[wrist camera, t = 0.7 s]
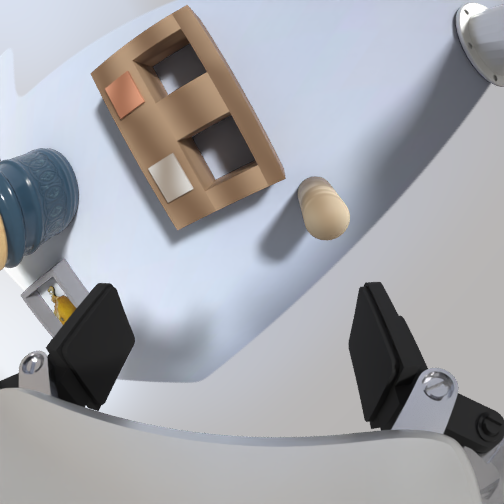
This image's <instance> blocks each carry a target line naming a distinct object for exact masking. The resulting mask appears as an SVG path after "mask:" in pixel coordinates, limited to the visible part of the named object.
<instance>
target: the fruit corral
mask: <svg viewBox="0 0 504 504" xmlns="http://www.w3.org/2000/svg"><path fill="white" fill-rule="evenodd" d="M52 277H54V279H55V280H56V282H57V283H58V284H59V286H60V287H61V289H62V290H63V291H64V293H65V294H66V295H67V297H68V298H69V299H70V301H71V302H72V303H73V305H74V306H75V307H76V308H77V307H78V306H79V305H80V304H81V302H82V301H83V300H84V299H85V298H86V296H87V295H88V294H89V292H88V291H87V290H86V288H85V287H84V286H83V284H82V283H81V282H80V280H79V279H78V277H77V276H76V275H75V273H74V272H73V270H72V269H71V267H70V266H69V264H68V263H67V261H66V260H65V258H64V259H63V260H62V261H60V262H59V263H58V264H56V265H55V266H54V267H53V268H51V269H50V270H49V271H48V272H46V273H45V274H44V275H43V276H41V277H40V278H39V279H38V280H37V281H35V282H34V283H33V284H32V285H31V286H30V287H29V288H27V289H26V290H25V291H24V292H23V293H22V294H21V297H22V298H23V300H24V301H25V303H27V305H28V307H29V308H30V309H31V310H32V312H33V313H34V315H35V316H36V317H37V319H38V320H39V321H40V322H41V323H42V325H43V326H44V327H45V329H46V330H47V331H48V332H49V333H50V335H51V336H52V337H54V336H55V335H56V334H57V332H58V331H59V330H60V328H61V327H62V326H63V324H62V323H61V322H60V321H59V319H58V318H57V317H56V316H55V314H54V313H53V312H52V311H51V309H50V308H49V307H48V305H47V304H46V303H45V301H44V300H43V299H42V297H41V296H40V294H39V293H38V292H37V290H36V289H37V288H39V287H40V286H41V285H42V284H44V283H45V282H46V281H48V280H49V279H50V278H52Z"/></svg>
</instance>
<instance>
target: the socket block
mask: <svg viewBox="0 0 504 504" xmlns="http://www.w3.org/2000/svg"><path fill="white" fill-rule="evenodd" d="M188 44H191V46H192V47H193V49H194V51H195V52H196V54H197V56H198V57H199V59H200V61H201V62H202V64H203V66H204V68H205V69H206V71H207V72H206V73H204V74H203V75H201V76H199V77H197V78H196V79H194V80H192V81H190V82H189V83H187V84H185V85H184V86H182V87H180V88H179V89H177V90H176V91H174V92H172V93H171V94H169V95H168V94H167V92H166V90H165V88H164V86H163V85H162V83H161V81H160V79H159V77H158V76H157V74H156V72H155V70H154V69H153V66H155V65H156V64H157V63H159V62H161V61H162V60H164V59H165V58H167V57H168V56H170V55H171V54H173V53H175V52H176V51H178V50H180V49H181V48H183V47H185V46H186V45H188ZM91 76H92V78H93V80H94V82H95V84H96V86H97V88H98V90H99V92H100V94H101V96H102V98H103V100H104V102H105V104H106V106H107V107H108V109H109V111H110V113H111V115H112V117H113V119H114V121H115V123H116V125H117V126H118V128H119V130H120V132H121V134H122V136H123V138H124V139H125V141H126V143H127V145H128V147H129V149H130V150H131V152H132V154H133V156H134V158H135V159H136V161H137V163H138V165H139V166H140V168H141V170H142V172H143V173H144V175H145V177H146V179H147V180H148V182H149V184H150V186H151V187H152V189H153V191H154V192H155V194H156V196H157V197H158V199H159V201H160V202H161V204H162V206H163V207H164V209H165V211H166V212H167V214H168V216H169V217H170V219H171V221H172V222H173V224H174V226H175V227H176V229H177V230H179V229H181V228H183V227H185V226H187V225H189V224H191V223H193V222H195V221H197V220H199V219H201V218H203V217H205V216H207V215H209V214H211V213H213V212H215V211H217V210H219V209H221V208H223V207H226V206H228V205H230V204H232V203H234V202H236V201H238V200H240V199H242V198H244V197H247V196H249V195H251V194H253V193H255V192H257V191H259V190H262V189H264V188H266V187H268V186H270V185H273V184H275V183H277V182H279V181H282V180H284V179H286V178H285V172H284V168H283V166H282V164H281V162H280V160H279V158H278V156H277V154H276V152H275V150H274V148H273V146H272V144H271V142H270V140H269V138H268V136H267V134H266V132H265V130H264V129H263V127H262V125H261V123H260V121H259V119H258V117H257V115H256V113H255V112H254V110H253V108H252V106H251V104H250V102H249V101H248V99H247V97H246V95H245V93H244V91H243V90H242V88H241V86H240V84H239V83H238V81H237V79H236V77H235V76H234V74H233V72H232V70H231V69H230V67H229V65H228V64H227V62H226V60H225V59H224V57H223V55H222V54H221V52H220V50H219V49H218V47H217V45H216V44H215V42H214V40H213V39H212V37H211V36H210V34H209V32H208V31H207V29H206V28H205V26H204V25H203V23H202V22H201V20H200V19H199V18H198V16H197V15H196V14H195V13H194V12H193V11H192V10H191V8H190V7H189V6H188V5H186V6H184V7H183V8H181V9H179V10H177V11H176V12H174V13H172V14H171V15H169V16H167V17H166V18H164V19H162V20H161V21H159V22H158V23H156V24H154V25H153V26H151V27H150V28H148V29H147V30H145V31H144V32H142V33H141V34H140V35H138V36H137V37H135V38H134V39H133V40H131V41H130V42H129V43H127V44H126V45H125V46H123V47H122V48H121V49H119V50H118V51H117V52H116V53H114V54H113V55H112V56H111V57H109V58H108V59H107V60H106V61H105V62H103V63H102V64H101V65H100V66H99V67H98V68H96V69H95V70H94V71H93V72H92V73H91ZM231 115H232V117H233V119H234V121H235V123H236V124H237V126H238V128H239V130H240V132H241V134H242V136H243V137H244V139H245V141H246V143H247V145H248V147H249V149H250V151H251V153H252V154H253V156H254V158H255V161H253V162H251V163H249V164H246V165H244V166H242V167H240V168H238V169H236V170H234V171H232V172H230V173H228V174H226V175H224V176H222V177H220V178H218V179H216V180H215V178H214V176H213V174H212V173H211V171H210V169H209V167H208V165H207V164H206V162H205V160H204V158H203V156H202V155H201V153H200V151H199V149H198V147H197V146H196V144H195V142H194V140H193V138H192V137H193V136H194V135H196V134H198V133H200V132H201V131H203V130H205V129H207V128H208V127H210V126H212V125H214V124H216V123H218V122H220V121H221V120H223V119H225V118H227V117H229V116H231Z"/></svg>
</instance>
